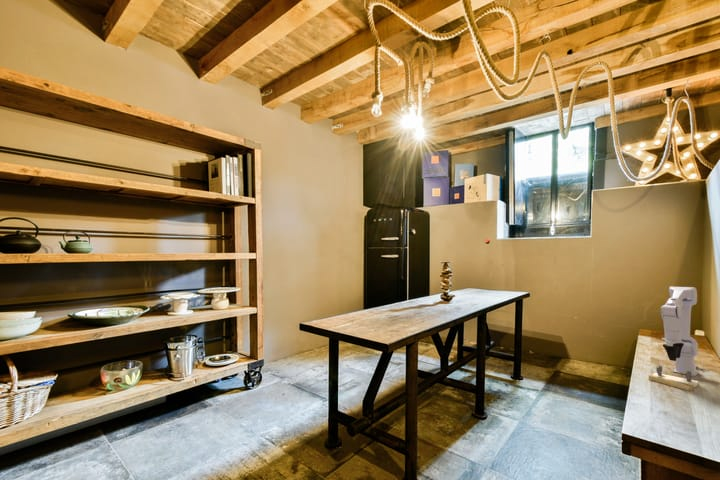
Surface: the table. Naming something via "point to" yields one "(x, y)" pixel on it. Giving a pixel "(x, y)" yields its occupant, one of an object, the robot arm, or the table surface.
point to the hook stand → (678, 379)
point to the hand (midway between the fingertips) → (674, 359)
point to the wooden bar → (671, 382)
